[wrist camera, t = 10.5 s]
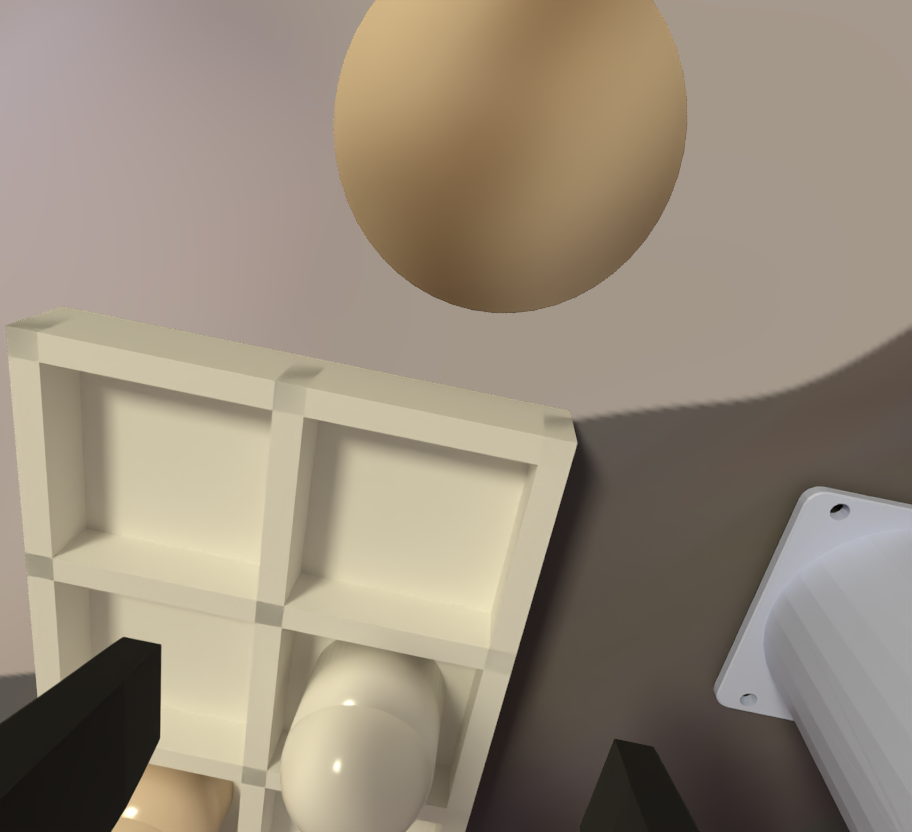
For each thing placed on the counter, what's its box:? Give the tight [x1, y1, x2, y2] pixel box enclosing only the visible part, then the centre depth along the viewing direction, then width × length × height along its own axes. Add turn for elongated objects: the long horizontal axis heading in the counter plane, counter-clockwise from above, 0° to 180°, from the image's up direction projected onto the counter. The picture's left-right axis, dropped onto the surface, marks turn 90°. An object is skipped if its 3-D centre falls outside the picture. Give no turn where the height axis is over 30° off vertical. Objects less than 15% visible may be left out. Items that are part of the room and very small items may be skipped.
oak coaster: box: [334, 0, 687, 313], centre depth 15 cm, size 8×8×1 cm
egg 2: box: [280, 640, 445, 832], centre depth 19 cm, size 4×4×5 cm
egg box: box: [6, 306, 577, 832], centre depth 21 cm, size 14×21×2 cm
